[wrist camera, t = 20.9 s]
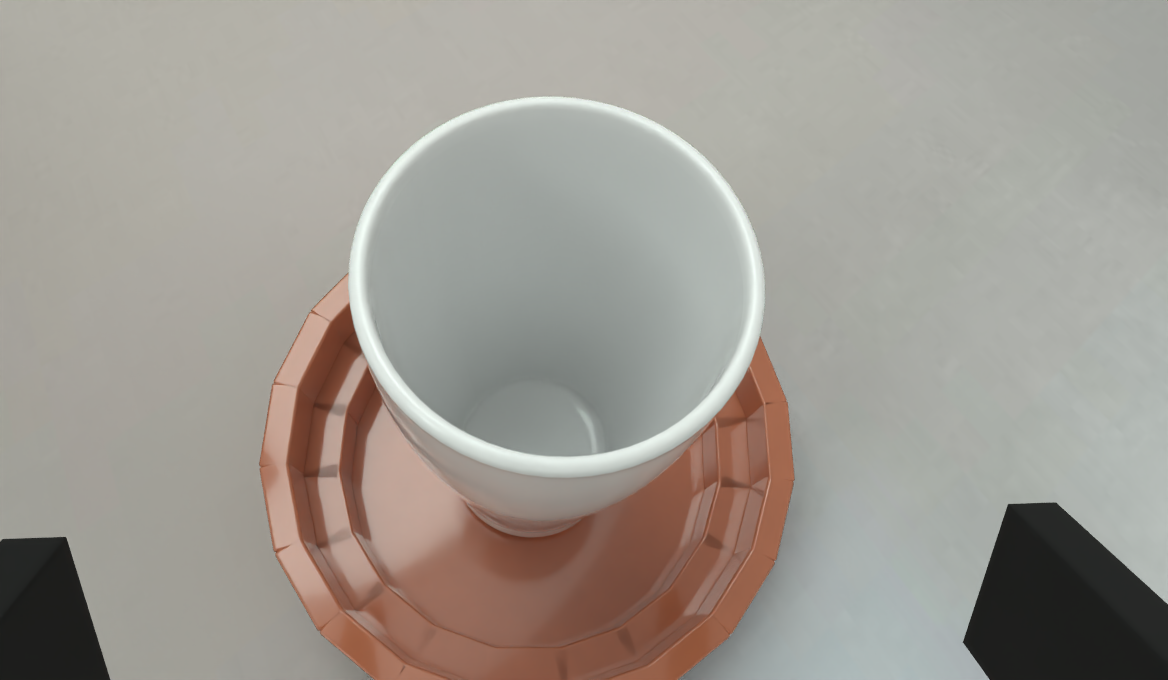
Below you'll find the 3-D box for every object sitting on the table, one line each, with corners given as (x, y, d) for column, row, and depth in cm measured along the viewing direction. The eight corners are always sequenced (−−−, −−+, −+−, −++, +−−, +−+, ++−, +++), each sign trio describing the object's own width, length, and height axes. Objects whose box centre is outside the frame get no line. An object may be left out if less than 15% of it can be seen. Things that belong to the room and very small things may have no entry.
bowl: (353, 782, 23) (318, 818, 18) (266, 318, 27) (223, 263, 23) (815, 616, 26) (876, 615, 21) (663, 224, 30) (688, 161, 26)
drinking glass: (425, 375, 26) (333, 97, 12) (614, 357, 27) (726, 78, 13) (439, 576, 24) (346, 510, 10) (645, 547, 25) (819, 451, 11)
